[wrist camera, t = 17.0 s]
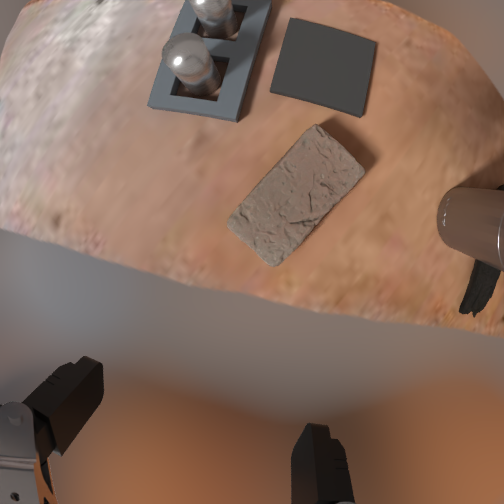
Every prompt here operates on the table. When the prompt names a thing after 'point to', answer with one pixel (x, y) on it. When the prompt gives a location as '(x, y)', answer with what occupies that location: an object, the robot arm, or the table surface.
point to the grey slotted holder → (233, 52)
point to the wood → (480, 286)
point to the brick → (295, 195)
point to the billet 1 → (216, 17)
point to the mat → (324, 67)
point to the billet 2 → (192, 63)
